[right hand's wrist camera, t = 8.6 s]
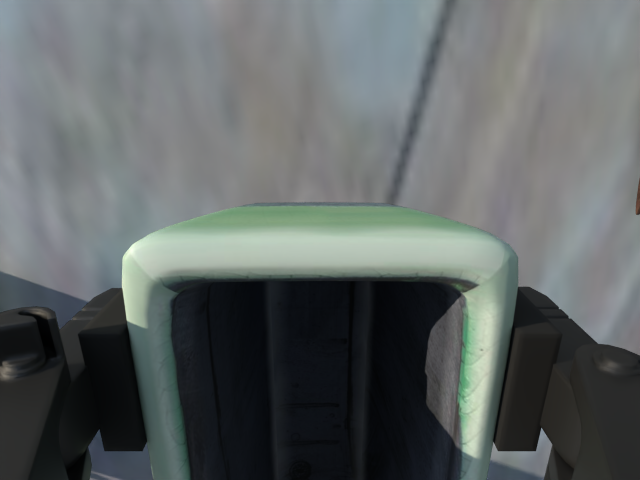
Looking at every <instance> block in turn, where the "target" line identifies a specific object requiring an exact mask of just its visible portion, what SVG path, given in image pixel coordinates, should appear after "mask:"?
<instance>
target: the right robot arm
mask: <svg viewBox="0 0 640 480" xmlns="http://www.w3.org/2000/svg"><path fill="white" fill-rule="evenodd" d="M541 427H542V429H543V430H544V432H545V434H546V435H547V437H548V438H549V440H550V441H551V443H552V444H553V445H552V449H551V453H550V457H549V461H548V465H547V469H546V473H545V477H544V480H640V356H639V355H637V354H635V353H632V352H630V351H628V350H625V349H622V348H618V347H615V346H611V345H604V344H598V343H596V342H595V341H594V340H593V339H592V338H591V337H590V336H589V335H588V334H587V333H586V332H585V331H584V330H583V329H582V328H580V327H579V326H578V325H577V324H576V323H575V322H574V321H573V320H572V319H569V318H568V315H567V314H565V313H564V312H563V311H562V310H561V309H559V307H558V306H557V305H556V304H555V303H554V302H553V301H552V300H550V299H549V298H548V297H547V296H546V295H544V294H542V293H540V292H538V291H536V290H534V289H532V288H530V287H518V290H517V297H516V305H515V312H514V319H513V326H512V333H511V340H510V347H509V352H508V358H507V364H506V370H505V375H504V381H503V387H502V393H501V398H500V404H499V410H498V416H497V421H496V427H495V433H494V439H493V442H494V444H495V446H496V448H497V450H498V451H536V448H537V444H538V440H539V435H540V431H541ZM99 429H100V433H101V438H102V442H103V446H104V451H143V449H144V447H145V444H146V442H147V438H146V433H145V427H144V421H143V415H142V410H141V404H140V398H139V392H138V387H137V381H136V375H135V369H134V364H133V358H132V352H131V346H130V340H129V333H128V325H127V318H126V311H125V303H124V296H123V288H111V289H109V290H107V291H106V292H104V293H102V294H100V295H98V296H96V297H94V298H93V299H92V300H91V301H90V302H89V303H88V304H87V305H85V306H84V307H83V308H82V311H79V312H78V313H77V314H76V315H75V316H74V317H73V318H72V320H70V321H69V322H67V323H66V324H65V325H64V326H63V327H62V328H61V329H60V330H59V327H58V323H57V319H56V315H55V312H54V311H52V310H51V309H49V308H45V307H37V306H36V307H23V308H17V309H13V310H8V311H4V312H1V313H0V480H90V473H91V466H92V464H91V457H90V453H89V449H88V446H89V444H90V443H91V441H92V440H93V438H94V436H95V435H96V433H97V432H98V430H99Z"/></svg>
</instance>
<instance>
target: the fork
mask: <svg viewBox="0 0 640 480" xmlns="http://www.w3.org/2000/svg"><path fill="white" fill-rule="evenodd" d="M639 214H640V180H639V186H638V193H637V201H636V215H639Z"/></svg>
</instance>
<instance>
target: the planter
mask: <svg viewBox="0 0 640 480" xmlns="http://www.w3.org/2000/svg"><path fill="white" fill-rule="evenodd" d="M122 288H123V296H124V303H125V311H126V318H127V325H128V333H129V340H130V346H131V352H132V358H133V364H134V369H135V375H136V381H137V387H138V392H139V398H140V404H141V410H142V415H143V421H144V427H145V433H146V438H147V446H148V452H149V457H150V463H151V469H152V474H153V480H487V474H488V469H489V463H490V457H491V452H492V446H493V439H494V433H495V427H496V421H497V416H498V410H499V404H500V398H501V393H502V387H503V381H504V375H505V370H506V364H507V358H508V352H509V347H510V340H511V333H512V326H513V319H514V312H515V305H516V297H517V290H518V257H517V255H516V253H515V252H514V250H513V249H512V248H511V247H510V245H509V244H507V243H506V242H504V241H502V240H501V239H499V238H497V237H496V236H494V235H492V234H491V233H488V232H486V231H483V230H481V229H478V228H475V227H472V226H469V225H466V224H463V223H460V222H457V221H453V220H450V219H447V218H444V217H440V216H436V215H433V214H429V213H425V212H422V211H417V210H413V209H409V208H405V207H401V206H396V205H391V204H385V203H255V204H249V205H243V206H239V207H234V208H230V209H226V210H222V211H219V212H215V213H211V214H208V215H204V216H200V217H197V218H194V219H191V220H187V221H184V222H181V223H178V224H175V225H172V226H169V227H166V228H163V229H161V230H158V231H156V232H153V233H151V234H149V235H147V236H146V237H144V238H143V239H141V240H139V241H138V242H136V243H134V244H133V245H132V246H131V247H130V248H129V249H128V251H127V252H126V253H125V255H124V257H123V270H122Z"/></svg>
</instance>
